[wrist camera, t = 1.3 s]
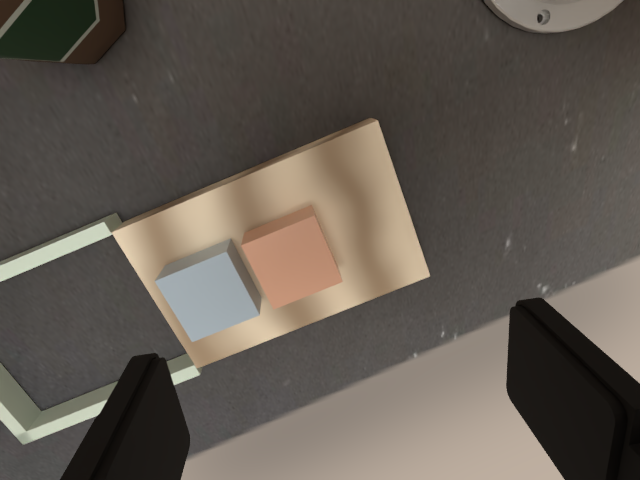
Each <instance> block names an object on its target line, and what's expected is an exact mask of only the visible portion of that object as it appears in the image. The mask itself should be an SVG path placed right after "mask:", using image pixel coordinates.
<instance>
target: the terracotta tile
mask: <svg viewBox="0 0 640 480" xmlns="http://www.w3.org/2000/svg"><path fill="white" fill-rule="evenodd" d="M241 247H242V249H243V251H244V253H245V255H246V257H247V259H248V261H249V263H250V265H251V267H252V268H253V270H254V272H255V274H256V276H257V278H258V280H259V282H260V284H261V286H262V288H263V290H264V292H265V294H266V296H267V298H268V300H269V302H270V304H271V306H272V308H273V310H274V309H276V308H279V307H281V306H284V305H286V304H289V303H291V302H294V301H296V300H299V299H301V298H304V297H306V296H309V295H311V294H314V293H316V292H319V291H321V290H324V289H326V288H329V287H331V286H334V285H336V284H339V283H341V282H343V281H342V277H341V274H340V271H339V268H338V265H337V263H336V260H335V258H334V256H333V253H332V251H331V249H330V246H329V244H328V242H327V239H326V237H325V234H324V232H323V230H322V227H321V225H320V223H319V220H318V218H317V216H316V213H315V211H314V209H313V206H312V205H310V206H308V207H305V208H303V209H300V210H298V211H296V212H293V213H291V214H288V215H286V216H284V217H281V218H279V219H276V220H274V221H271V222H269V223H267V224H264V225H262V226H259V227H257V228H254V229H252V230H250V231H247V232H245V233H244V236H243V239H242V243H241Z"/></svg>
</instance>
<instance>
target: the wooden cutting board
mask: <svg viewBox="0 0 640 480" xmlns="http://www.w3.org/2000/svg"><path fill="white" fill-rule="evenodd" d="M310 205H312V206H313V209H314V211H315V213H316V216H317V218H318V220H319V223H320V225H321V227H322V230H323V232H324V234H325V237H326V239H327V242H328V244H329V246H330V249H331V251H332V253H333V256H334V258H335V260H336V263H337V265H338V268H339V271H340V274H341V277H342V281H343V282H341V283H339V284H336V285H334V286H331V287H329V288H326V289H324V290H321V291H319V292H316V293H314V294H311V295H309V296H306V297H304V298H301V299H299V300H296V301H294V302H291V303H289V304H286V305H284V306H281V307H279V308H276V309H274V310H273V308H272V306H271V304H270V302H269V300H268V298H267V296H266V294H265V292H264V290H263V288H262V286H261V284H260V282H259V280H258V278H257V276H256V274H255V272H254V270H253V268H252V267H251V265H250V263H249V261H248V259H247V257H246V255H245V253H244V251H243V249H242V247H241V243H242V239H243V236H244V233H245V232H247V231H250V230H252V229H254V228H257V227H259V226H262V225H264V224H267V223H269V222H271V221H274V220H276V219H279V218H281V217H284V216H286V215H288V214H291V213H293V212H296V211H298V210H300V209H303V208H305V207H308V206H310ZM111 233H112V234H113V236H114V237H115V239H116V241H117V242H118V244H119V245H120V247H121V249H122V250H123V252H124V253H125V255H126V257H127V258H128V260H129V261H130V263H131V264H132V266H133V268H134V269H135V271H136V272H137V274H138V276H139V277H140V279H141V280H142V282H143V284H144V285H145V287H146V288H147V290H148V291H149V293H150V295H151V296H152V298H153V299H154V301H155V303H156V304H157V306H158V307H159V309H160V311H161V312H162V314H163V315H164V317H165V319H166V320H167V322H168V323H169V325H170V326H171V328H172V330H173V331H174V333H175V334H176V336H177V338H178V339H179V341H180V342H181V344H182V346H183V347H184V349H185V350H186V352H187V353H188V355H189V357H190V358H191V360H192V361H193V363H194V365H195V366H196V368H200V367H202V366H205V365H207V364H210V363H212V362H215V361H217V360H220V359H222V358H225V357H227V356H230V355H232V354H235V353H238V352H240V351H243V350H245V349H248V348H250V347H253V346H255V345H258V344H260V343H263V342H265V341H268V340H270V339H273V338H275V337H278V336H280V335H283V334H286V333H288V332H291V331H293V330H296V329H298V328H301V327H303V326H306V325H308V324H311V323H313V322H316V321H318V320H321V319H323V318H326V317H328V316H331V315H334V314H336V313H339V312H341V311H344V310H346V309H349V308H351V307H354V306H356V305H359V304H361V303H364V302H366V301H369V300H371V299H374V298H376V297H379V296H381V295H384V294H387V293H389V292H392V291H394V290H397V289H399V288H402V287H404V286H407V285H409V284H412V283H414V282H417V281H419V280H422V279H424V278H427V277H429V276H430V274H429V271H428V268H427V265H426V262H425V259H424V256H423V253H422V250H421V247H420V244H419V241H418V238H417V235H416V232H415V229H414V226H413V223H412V220H411V217H410V214H409V211H408V208H407V205H406V202H405V199H404V197H403V194H402V191H401V188H400V185H399V182H398V179H397V176H396V173H395V170H394V167H393V164H392V161H391V158H390V155H389V152H388V149H387V146H386V143H385V140H384V137H383V134H382V131H381V128H380V125H379V122H378V120H376V119H373V118H368V119H366V120H363V121H361V122H359V123H356V124H354V125H352V126H349V127H347V128H344V129H342V130H340V131H337V132H335V133H333V134H330V135H328V136H325V137H323V138H321V139H318V140H316V141H314V142H311V143H309V144H307V145H304V146H302V147H299V148H297V149H295V150H292V151H290V152H288V153H285V154H283V155H280V156H278V157H276V158H273V159H271V160H269V161H266V162H264V163H262V164H259V165H257V166H254V167H252V168H250V169H247V170H245V171H243V172H240V173H238V174H235V175H233V176H231V177H228V178H226V179H224V180H221V181H219V182H217V183H214V184H212V185H209V186H207V187H205V188H202V189H200V190H198V191H195V192H193V193H190V194H188V195H186V196H183V197H181V198H179V199H176V200H174V201H172V202H169V203H167V204H164V205H162V206H160V207H157V208H155V209H153V210H150V211H148V212H145V213H143V214H141V215H138V216H136V217H134V218H131V219H129V220H127V221H124V222H123V223H122V224H121V225H120V226H119V227H117V228H116V229H115V230H114V231H113V232H111ZM230 238H231V239H232V241H233V243H234V245H235V247H236V249H237V251H238V253H239V255H240V257H241V259H242V261H243V262H244V264H245V266H246V268H247V270H248V272H249V274H250V276H251V278H252V280H253V282H254V284H255V286H256V288H257V290H258V291H259V293H260V295H261V297H262V299H261V309H260V315H259V316H256V317H254V318H251V319H249V320H246V321H244V322H241V323H239V324H236V325H234V326H231V327H229V328H226V329H224V330H221V331H219V332H216V333H214V334H211V335H209V336H206V337H204V338H201V339H199V340H196V341H194V342H192V341H191V340H190V338H189V336H188V335H187V333H186V331H185V330H184V328H183V327H182V325H181V323H180V322H179V320H178V318H177V317H176V315H175V314H174V312H173V310H172V309H171V307H170V305H169V304H168V302H167V301H166V299H165V297H164V296H163V294H162V292H161V291H160V289H159V288H158V286H157V284H156V283H155V280H156V278H157V277H158V275H159V274H160V272H161V271H162V269H163V268H164V266H165V265H167V264H170V263H172V262H175V261H177V260H179V259H182V258H184V257H187V256H189V255H192V254H194V253H196V252H199V251H201V250H204V249H206V248H208V247H211V246H213V245H216V244H218V243H221V242H223V241H225V240H228V239H230Z"/></svg>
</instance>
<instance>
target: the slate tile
mask: <svg viewBox="0 0 640 480" xmlns="http://www.w3.org/2000/svg"><path fill="white" fill-rule="evenodd" d="M155 283H156V284H157V286H158V288H159V289H160V291H161V292H162V294H163V296H164V297H165V299H166V301H167V302H168V304H169V305H170V307H171V309H172V310H173V312H174V314H175V315H176V317H177V318H178V320H179V322H180V323H181V325H182V327H183V328H184V330H185V331H186V333H187V335H188V336H189V338H190V340H191V341H192V342H194V341H196V340H199V339H201V338H204V337H206V336H209V335H211V334H214V333H216V332H219V331H221V330H224V329H226V328H229V327H231V326H234V325H236V324H239V323H241V322H244V321H246V320H249V319H251V318H254V317H256V316H259V315H260V309H261V299H262V297H261V295H260V293H259V291H258V290H257V288H256V286H255V284H254V282H253V280H252V278H251V276H250V274H249V272H248V270H247V268H246V266H245V264H244V262H243V261H242V259H241V257H240V255H239V253H238V251H237V249H236V247H235V245H234V243H233V241H232V239H231V238H230V239H228V240H225V241H223V242H221V243H218V244H216V245H213V246H211V247H208V248H206V249H204V250H201V251H199V252H196V253H194V254H192V255H189V256H187V257H184V258H182V259H179V260H177V261H175V262H172V263H170V264H167V265H165V266H164V268H163V269H162V271H161V272H160V274H159V275H158V277H157V278H156V280H155Z"/></svg>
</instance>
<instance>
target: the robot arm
mask: <svg viewBox="0 0 640 480" xmlns="http://www.w3.org/2000/svg"><path fill="white" fill-rule="evenodd" d="M483 1H484V2H485V4H486V5H487V6H488V7H489V8H490V9H491V10H492V11H493V12H494V13H495V14H496V15H497V16H498V17H499V18H501V19H502V20H504V21H505V22H507V23H508V24H510V25H511V26H514V27H516V28H519V29H522V30H524V31H527V32H534V33H542V34H548V33H558V32H565V31H569V30H573V29H577V28H580V27H583V26H585V25H588V24H590V23H592V22H595V21H597V20H598V19H600V18H601V17H603V16H605V15H606V14H608V13H609V12H611V11H612V10H614V9H615V8H616V7H617V6H618V5H619V4H620V3H621V2H623V1H624V0H483ZM537 16H538V17H539V21H537ZM509 322H510V323H509V343H508V363H507V383H506V386H507V393H508V396H509V398H510V400H511V401H512V403H513V404H514V406H515V407H516V409H517V410H518V412H519V413H520V415H521V416H522V418H523V419H524V420H525V422H526V423H527V425H528V426H529V428H530V429H531V431H532V432H533V434H534V435H535V437H536V438H537V440H538V441H539V443H540V444H541V445H542V447H543V448H544V450H545V451H546V453H547V454H548V456H549V457H550V459H551V460H552V462H553V463H554V465H555V466H556V467H557V469H558V470H559V472H560V473H561V475H562V476H563V478H564V479H565V480H640V384H639V383H638V382H637V381H636V380H635V379H634V378H633V377H631V376H630V375H629V374H628V373H627V372H626V371H625V370H624V369H622V368H621V367H620V366H619V365H618V364H617V363H615V362H614V361H613V360H612V359H611V358H610V357H609V356H608V355H606V354H605V353H604V352H603V351H602V350H601V349H600V348H598V347H597V346H596V345H595V344H594V343H593V342H592V341H590V340H589V339H588V338H587V337H586V336H585V335H583V334H582V333H581V332H580V331H579V330H578V329H577V328H575V327H574V326H573V325H572V324H571V323H570V322H569V321H568V320H566V319H565V318H564V317H563V316H562V315H561V314H560V313H558V312H557V311H556V310H555V309H554V308H553V307H552V306H550V305H549V304H548V303H547V302H546V301H545V300H544V299H542V298H533V299H526V300H519V301H517V303H516V306H515V307H512V308H511V309H510V321H509ZM189 446H190V435H189V431H188V428H187V425H186V421H185V418H184V415H183V412H182V409H181V406H180V403H179V399H178V396H177V393H176V390H175V387H174V384H173V381H172V377H171V374H170V371H169V368H168V365H167V362H166V360H165V358H159V356H158V355H157V354H156V353H152V354H145V355H138V356H134V357H132V358H131V360H130V361H129V363H128V365H127V367H126V368H125V370H124V372H123V374H122V375H121V377H120V379H119V381H118V382H117V384H116V386H115V388H114V389H113V391H112V393H111V395H110V396H109V398H108V400H107V402H106V403H105V405H104V407H103V409H102V410H101V412H100V414H99V415H98V416H97V417H96V419H95V420H94V422H93V423H92V425H91V427H90V429H89V430H88V432H87V434H86V436H85V437H84V439H83V441H82V443H81V444H80V446H79V448H78V450H77V451H76V453H75V455H74V456H73V458H72V460H71V462H70V463H69V465H68V467H67V469H66V470H65V472H64V474H63V476H62V477H61V479H60V480H181V476H182V472H183V469H184V465H185V461H186V458H187V454H188V451H189Z"/></svg>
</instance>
